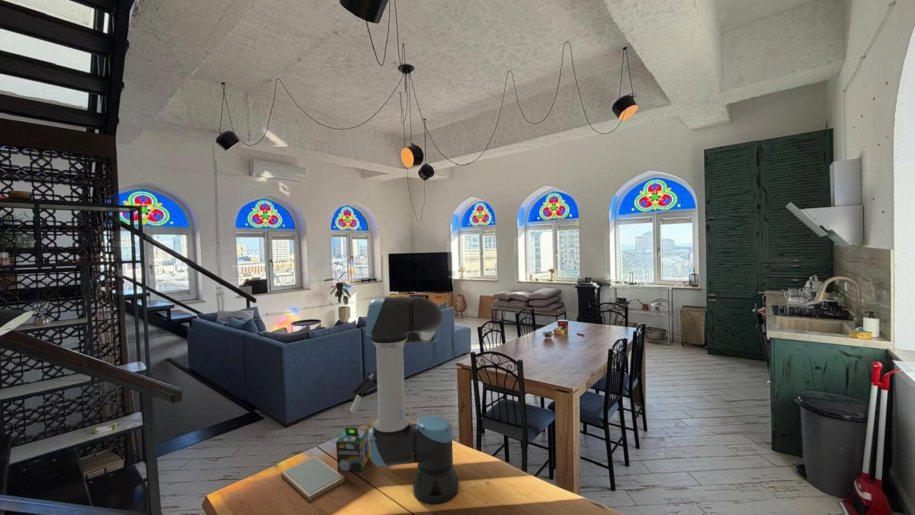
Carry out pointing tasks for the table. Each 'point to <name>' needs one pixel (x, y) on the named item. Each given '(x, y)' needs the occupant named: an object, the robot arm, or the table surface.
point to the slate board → (312, 477)
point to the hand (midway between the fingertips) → (365, 415)
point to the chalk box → (352, 449)
